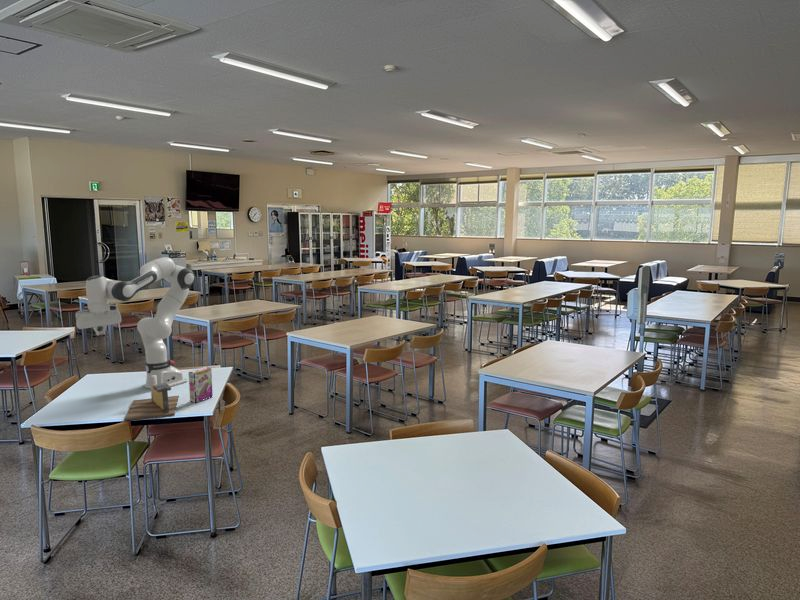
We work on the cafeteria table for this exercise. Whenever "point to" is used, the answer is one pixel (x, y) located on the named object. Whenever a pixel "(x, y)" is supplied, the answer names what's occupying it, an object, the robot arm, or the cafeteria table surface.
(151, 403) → the pintle board
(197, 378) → the candy bar box
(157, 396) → the yellow rectangular slab
